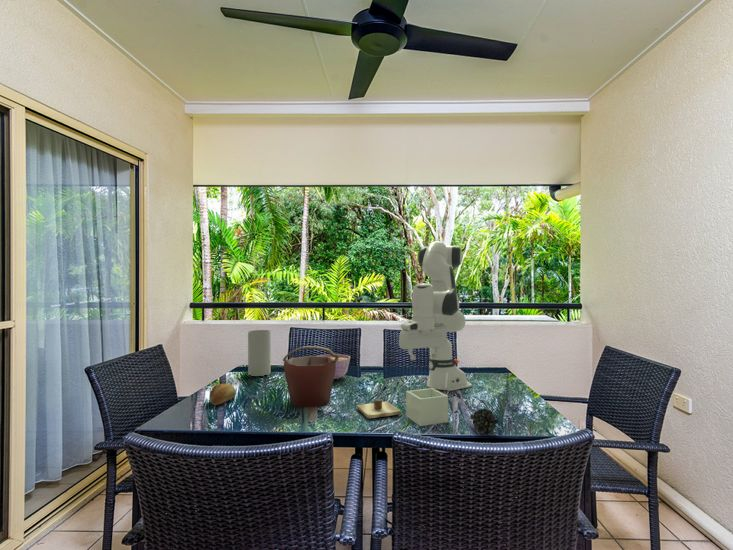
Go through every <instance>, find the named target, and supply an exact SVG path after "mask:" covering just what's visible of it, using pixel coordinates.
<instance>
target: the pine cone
mask: <svg viewBox="0 0 733 550" xmlns="http://www.w3.org/2000/svg"><path fill="white" fill-rule="evenodd" d="M469 419H471V420H472V425H473V426H474V429H475V430H476V431H477V433H479V432H480V434H484V433H487V434H493V433H494V429H495V428H496V426H497V425H498V424H499V422H500V421H499V419H498V418H496V416H495V415H494V414H493V411H492V409H487V408H479V409H478V410H476V411H474V413H473V414H470V415H469Z"/></svg>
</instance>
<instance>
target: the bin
mask: <svg viewBox="0 0 733 550" xmlns="http://www.w3.org/2000/svg"><path fill="white" fill-rule="evenodd" d="M405 413H406V414H405V415H406V417H407V418H408V419H410V420H411V421H413V422H414V424H416V425H418V426H419V427H424V426H431V425H438V424H444V423H445V424H446V423H449V395H447V394H445V393H443V392H441V391H439V390H438V389H433V388H430V387H428V388H422V389H413V390H406V391H405Z"/></svg>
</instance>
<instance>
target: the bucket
mask: <svg viewBox="0 0 733 550" xmlns="http://www.w3.org/2000/svg"><path fill="white" fill-rule="evenodd" d="M303 349H315V350H321V351H325V352H327V354H330V355H331V356H335V359H334V360H333V359H332V358H331V357H321V356H319V355H306V356H299V357H290V355H292V354H293V353H295V352H297V351H300V350H303ZM336 354H337V353H334V352H333V351H332V350H331V349H330V348H327V347H323V346H317V345H305V346H301V347H298V348H295V349H293V350H292V351H289V352H288V353H287V354H286V355H285V356H284V357H283V358H282V361H283V371H284V378H285V380H286V386H287V390H288V396H289V400H290V404H291V405H292V406H295V407H298V408H300V409H306V408H307V409H309V408H310V409H311V408H320V407H324V406H325V405H327V404H330V401H331V395H332V389H333V384H334V381H335V380H334V374H335V369H336V362H337V360H338V359H339V357H338V356H337V355H336ZM288 357H290V358H289V359H287V358H288Z"/></svg>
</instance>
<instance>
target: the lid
mask: <svg viewBox="0 0 733 550" xmlns="http://www.w3.org/2000/svg"><path fill="white" fill-rule="evenodd" d="M356 409H357V410H358V411H359V412H360V413H362V414H363V415H364V416H365V417H366V418H367V419H375V418H381V417H389V416H390V417H391V416H396V415H402V412H401V410H400V409H398V408H397V407H396V406H395V405H393V404H391V402H389V401H383V400H382V399H381V398H376V399H374V401H373V402H371V403H364V404H356Z"/></svg>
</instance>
